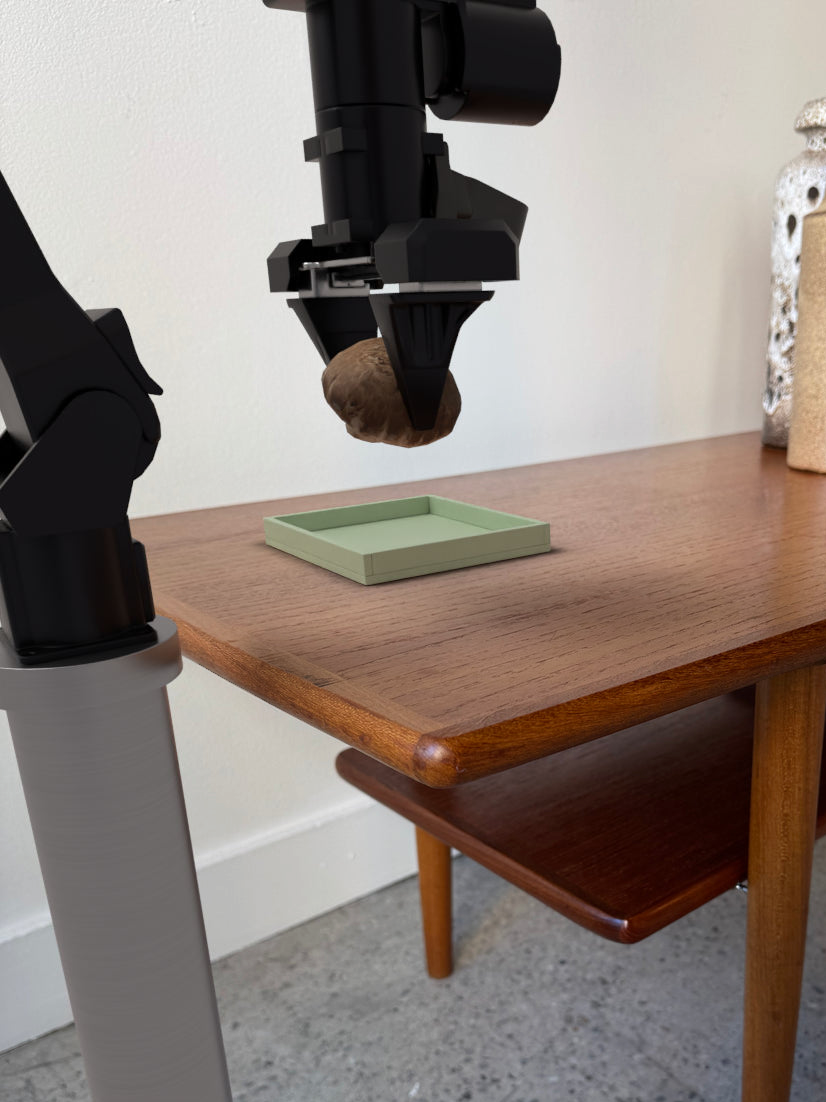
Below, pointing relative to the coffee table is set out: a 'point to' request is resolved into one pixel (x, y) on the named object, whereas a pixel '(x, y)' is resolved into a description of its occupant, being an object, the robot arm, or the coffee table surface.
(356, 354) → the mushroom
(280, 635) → the coffee table surface
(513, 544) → the tray
